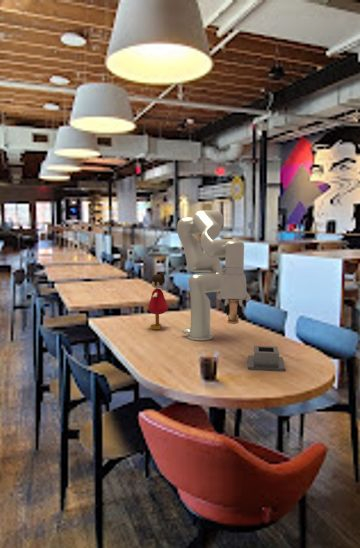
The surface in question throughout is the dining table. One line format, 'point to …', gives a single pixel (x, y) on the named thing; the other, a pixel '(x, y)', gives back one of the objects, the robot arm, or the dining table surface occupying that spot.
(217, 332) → the dining table surface
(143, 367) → the dining table surface
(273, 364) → the flange socket
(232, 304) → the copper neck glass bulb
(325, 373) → the dining table surface
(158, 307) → the toy
